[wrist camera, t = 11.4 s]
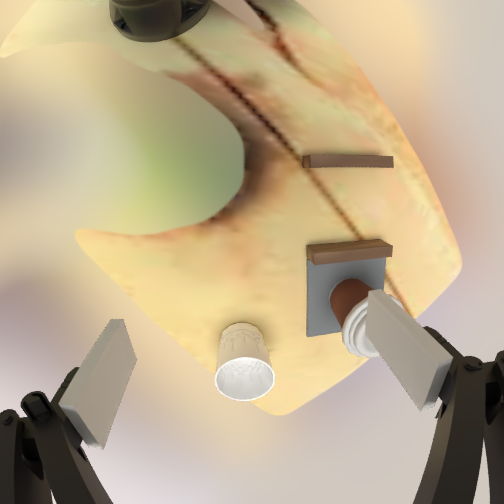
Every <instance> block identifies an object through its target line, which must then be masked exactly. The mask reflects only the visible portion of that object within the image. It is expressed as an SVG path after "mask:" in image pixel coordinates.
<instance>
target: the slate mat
mask: <svg viewBox="0 0 504 504" xmlns="http://www.w3.org/2000/svg"><path fill="white" fill-rule="evenodd" d="M385 266H386V257H384V258H376V259H367V260H359V261H350V262H341V263H331V264H322V265H314V264H313V263H312V262H311V261H310V260H309V259H307V337H312V336H318V335H325V334H331V333H337V332H342V329H341V326H340V324H339V322H338V320H337V318H336V316H335V314H334V312H333V310H332V308H331V307H330V305H329V298H328V297H329V294H330V290H331V289H332V287H333V286H334V284H335V283H336V282H338V281H339V280H341V279H342V278H346V277H349V276H350V277H357V278H358V279H360V280H361V281H363V282H364V283H365V284H367V285H368V286H370V287H371V288H373V289H374V290H378V289H381V290H383V288H384V278H385Z"/></svg>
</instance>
